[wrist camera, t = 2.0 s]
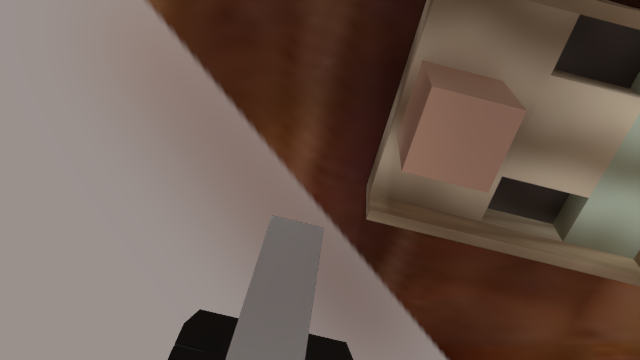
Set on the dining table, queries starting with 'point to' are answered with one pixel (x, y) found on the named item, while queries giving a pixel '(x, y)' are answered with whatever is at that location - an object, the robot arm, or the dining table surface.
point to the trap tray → (534, 134)
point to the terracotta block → (458, 126)
